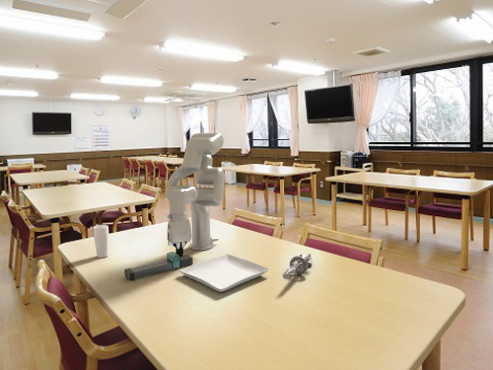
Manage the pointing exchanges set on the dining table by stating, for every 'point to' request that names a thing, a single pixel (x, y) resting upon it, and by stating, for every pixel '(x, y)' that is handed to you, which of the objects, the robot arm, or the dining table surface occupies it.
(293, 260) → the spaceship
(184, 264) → the tongs frame
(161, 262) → the bar
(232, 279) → the square plate
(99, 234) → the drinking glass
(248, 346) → the dining table surface
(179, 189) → the robot arm
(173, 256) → the teal rectangular block
